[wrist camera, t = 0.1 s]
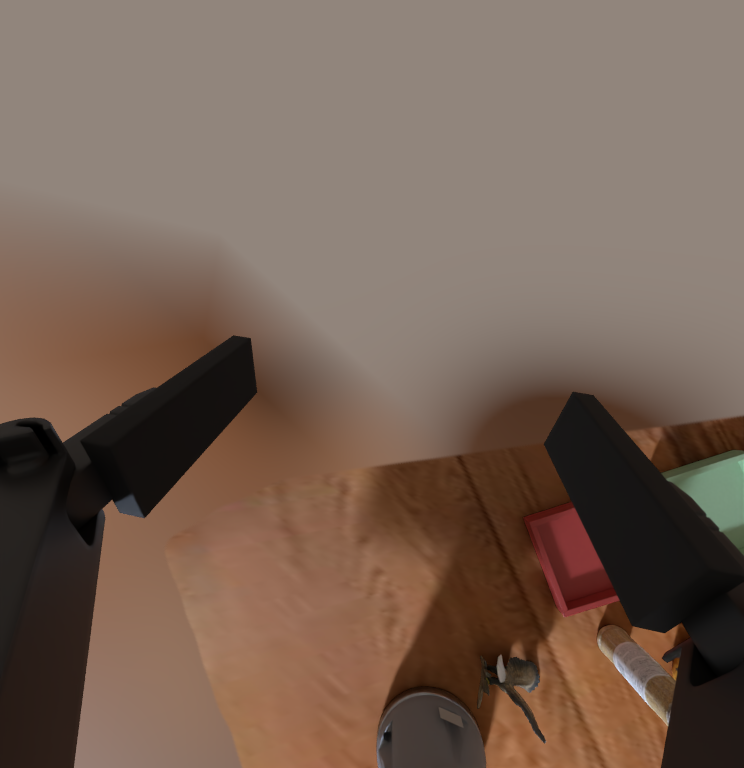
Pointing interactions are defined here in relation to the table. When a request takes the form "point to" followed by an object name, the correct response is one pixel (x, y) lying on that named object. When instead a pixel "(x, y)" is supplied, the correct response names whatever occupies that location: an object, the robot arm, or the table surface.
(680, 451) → the table surface
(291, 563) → the table surface
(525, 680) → the eagle figurine
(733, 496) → the green tray
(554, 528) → the red tray
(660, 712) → the sprinkles bottle
